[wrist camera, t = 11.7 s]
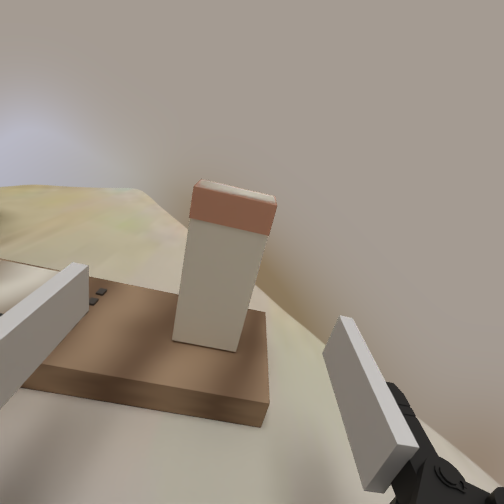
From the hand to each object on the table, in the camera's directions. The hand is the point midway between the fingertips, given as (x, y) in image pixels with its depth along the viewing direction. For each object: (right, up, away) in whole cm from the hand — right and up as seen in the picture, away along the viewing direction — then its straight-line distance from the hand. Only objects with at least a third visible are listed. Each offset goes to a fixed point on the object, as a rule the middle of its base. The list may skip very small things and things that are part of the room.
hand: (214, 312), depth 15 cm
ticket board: (-13, -4, +8) cm, 16 cm away
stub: (-2, -4, +8) cm, 9 cm away
